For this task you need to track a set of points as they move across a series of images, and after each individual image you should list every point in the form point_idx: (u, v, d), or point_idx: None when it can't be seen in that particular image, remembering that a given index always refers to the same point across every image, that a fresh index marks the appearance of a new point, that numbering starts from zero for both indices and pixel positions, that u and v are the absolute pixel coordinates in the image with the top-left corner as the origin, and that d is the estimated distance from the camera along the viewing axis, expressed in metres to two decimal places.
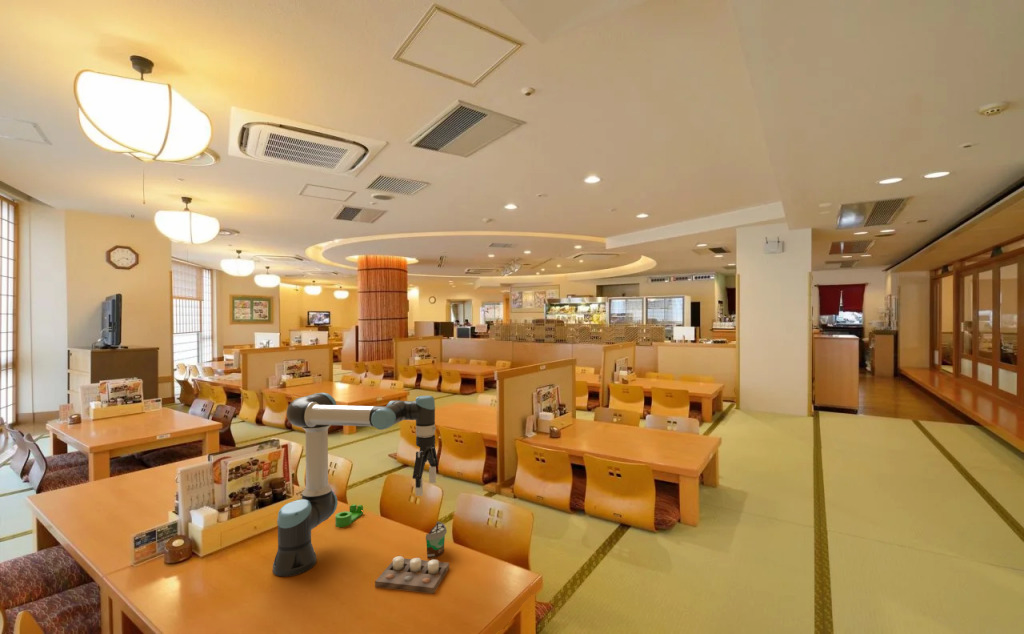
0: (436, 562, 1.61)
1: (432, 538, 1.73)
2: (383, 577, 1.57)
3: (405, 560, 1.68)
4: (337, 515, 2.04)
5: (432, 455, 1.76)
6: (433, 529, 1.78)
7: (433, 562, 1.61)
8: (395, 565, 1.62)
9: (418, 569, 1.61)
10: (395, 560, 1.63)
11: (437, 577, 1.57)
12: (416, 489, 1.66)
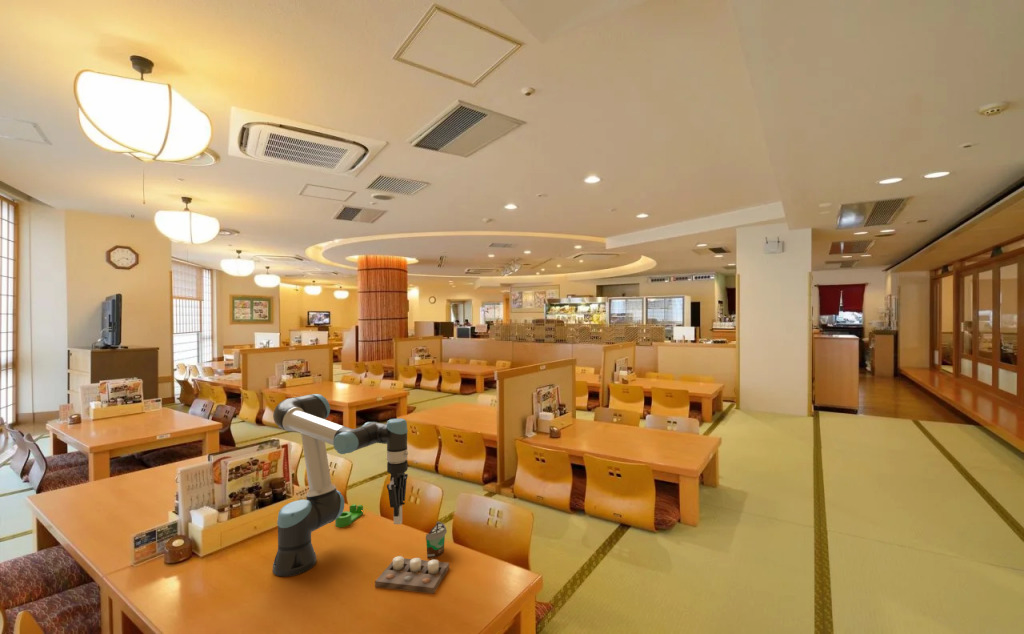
0: (436, 562, 1.61)
1: (432, 538, 1.73)
2: (383, 577, 1.57)
3: (405, 560, 1.68)
4: None
5: (402, 484, 1.65)
6: (433, 529, 1.78)
7: (433, 562, 1.61)
8: (395, 565, 1.62)
9: (418, 569, 1.61)
10: (395, 560, 1.63)
11: (437, 577, 1.57)
12: (394, 518, 1.64)
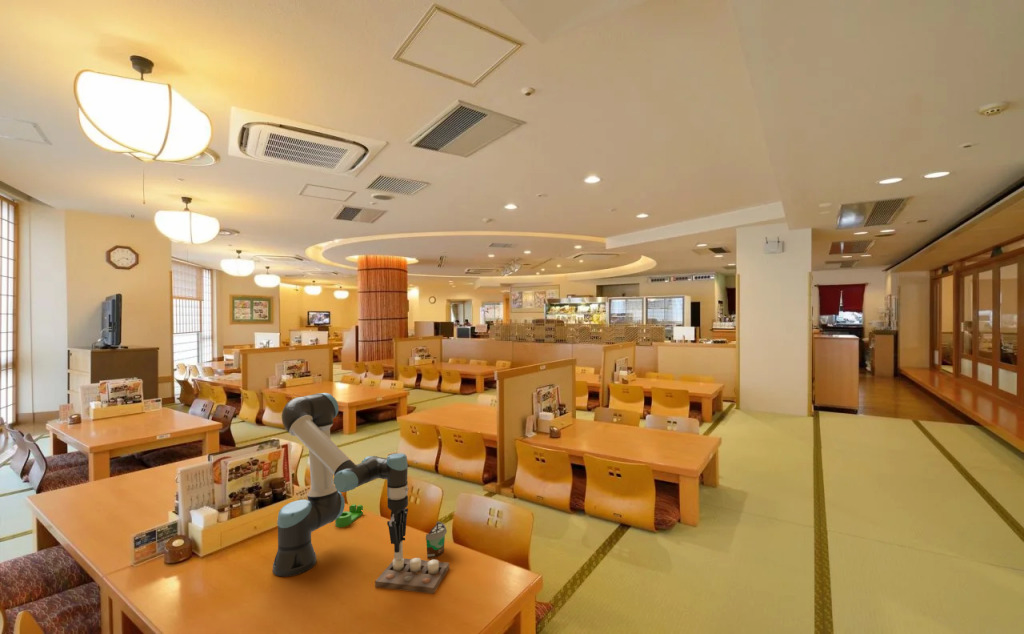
0: (436, 562, 1.61)
1: (432, 538, 1.73)
2: (383, 577, 1.57)
3: (405, 560, 1.68)
4: None
5: (403, 520, 1.65)
6: (433, 529, 1.78)
7: (433, 562, 1.61)
8: (395, 566, 1.62)
9: (418, 569, 1.61)
10: (395, 561, 1.63)
11: (437, 577, 1.57)
12: (395, 553, 1.63)
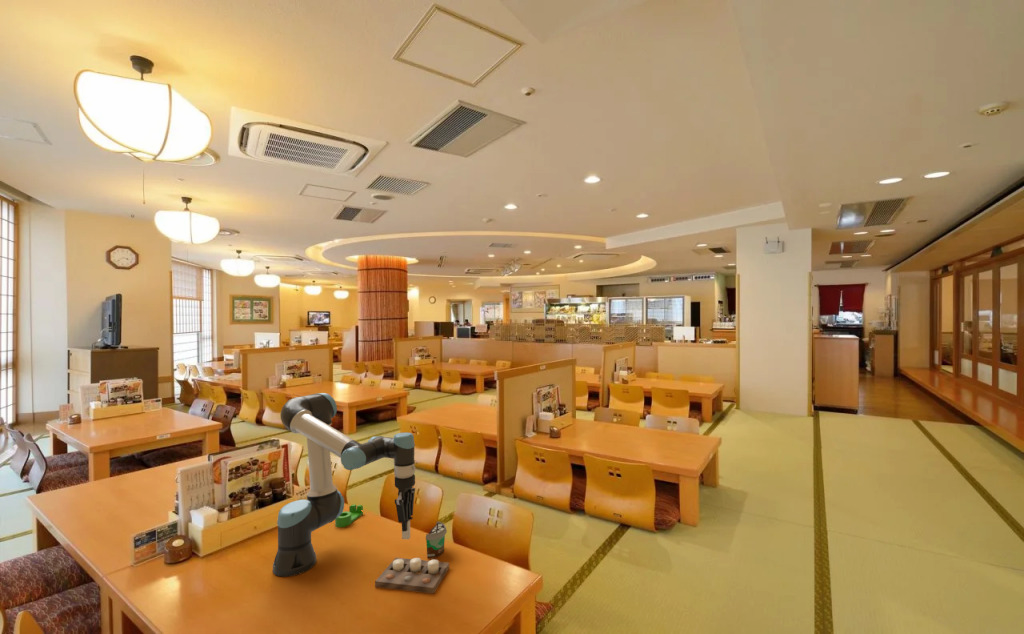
0: (436, 562, 1.61)
1: (432, 538, 1.73)
2: (383, 577, 1.57)
3: (405, 560, 1.68)
4: None
5: (410, 499, 1.64)
6: (433, 529, 1.78)
7: (433, 562, 1.61)
8: (395, 568, 1.62)
9: (418, 569, 1.61)
10: (395, 563, 1.63)
11: (437, 577, 1.57)
12: (402, 532, 1.63)
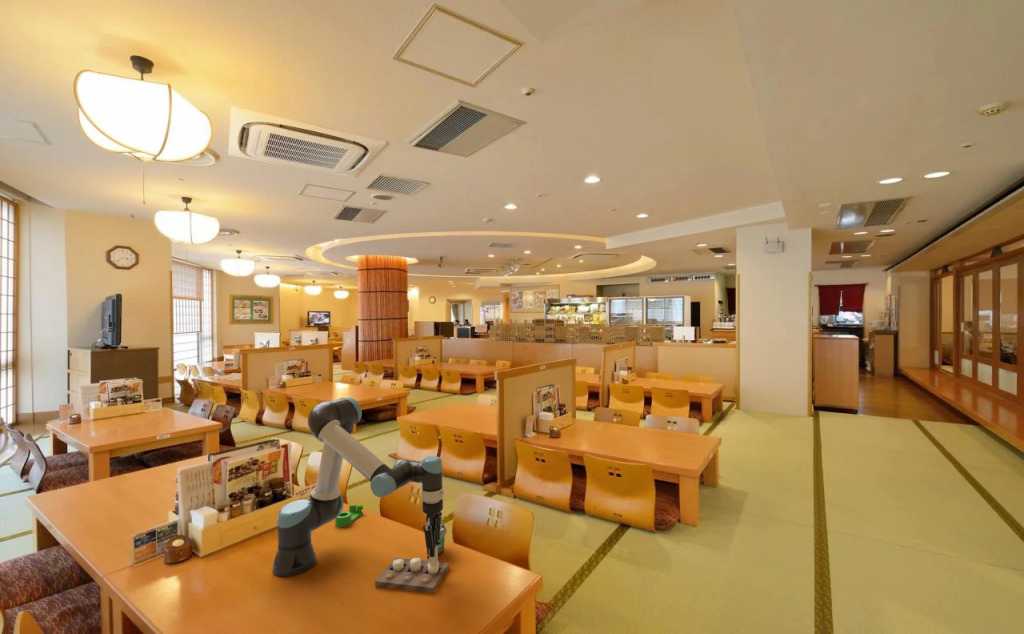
0: None
1: None
2: (383, 577, 1.57)
3: (405, 560, 1.68)
4: None
5: (438, 524, 1.62)
6: None
7: None
8: (395, 568, 1.62)
9: (418, 569, 1.61)
10: (395, 563, 1.63)
11: (437, 577, 1.57)
12: (430, 558, 1.61)
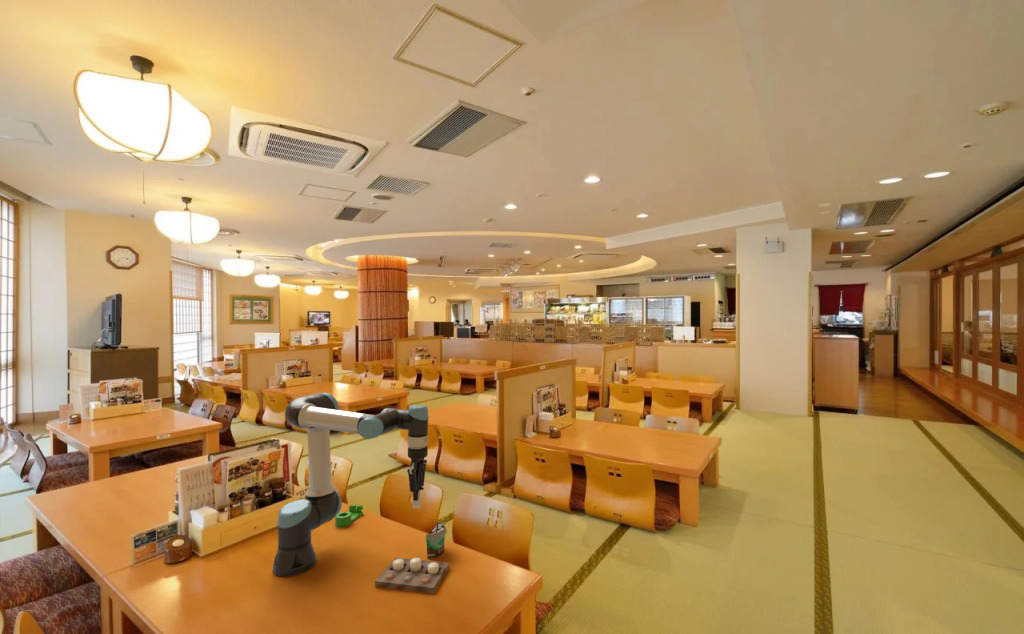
0: (436, 565, 1.61)
1: (432, 538, 1.73)
2: (383, 577, 1.57)
3: (405, 560, 1.68)
4: (337, 515, 2.04)
5: (422, 469, 1.67)
6: (433, 529, 1.78)
7: (433, 565, 1.61)
8: (395, 568, 1.62)
9: (418, 569, 1.61)
10: (395, 563, 1.63)
11: (437, 577, 1.57)
12: (413, 502, 1.66)
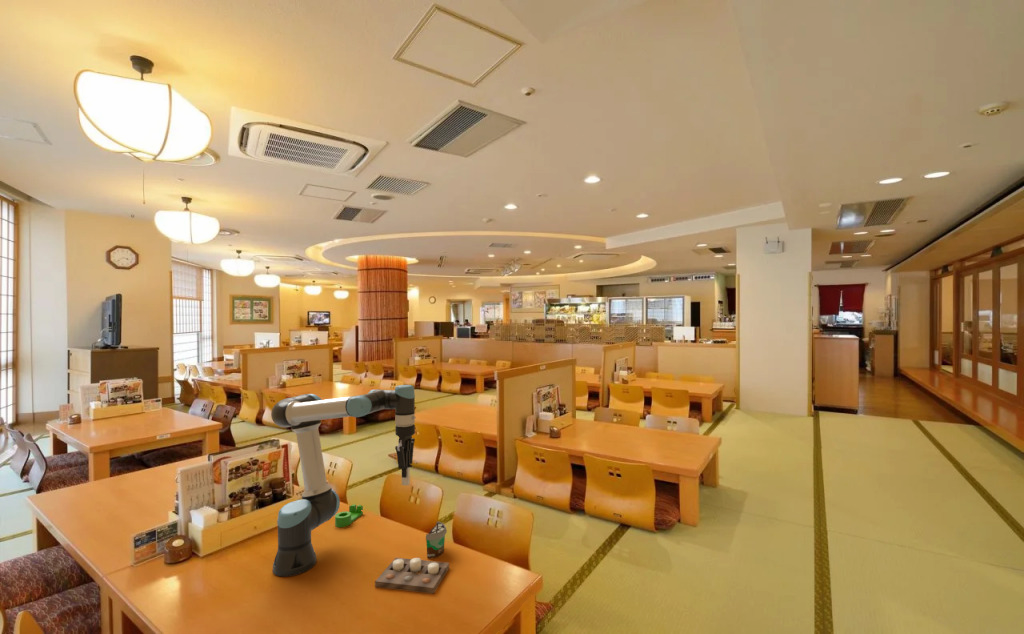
0: (436, 565, 1.61)
1: (432, 538, 1.73)
2: (383, 577, 1.57)
3: (405, 560, 1.68)
4: (337, 515, 2.04)
5: (410, 447, 1.72)
6: (433, 529, 1.78)
7: (433, 565, 1.61)
8: (395, 568, 1.62)
9: (418, 569, 1.61)
10: (395, 563, 1.63)
11: (437, 577, 1.57)
12: (402, 479, 1.71)
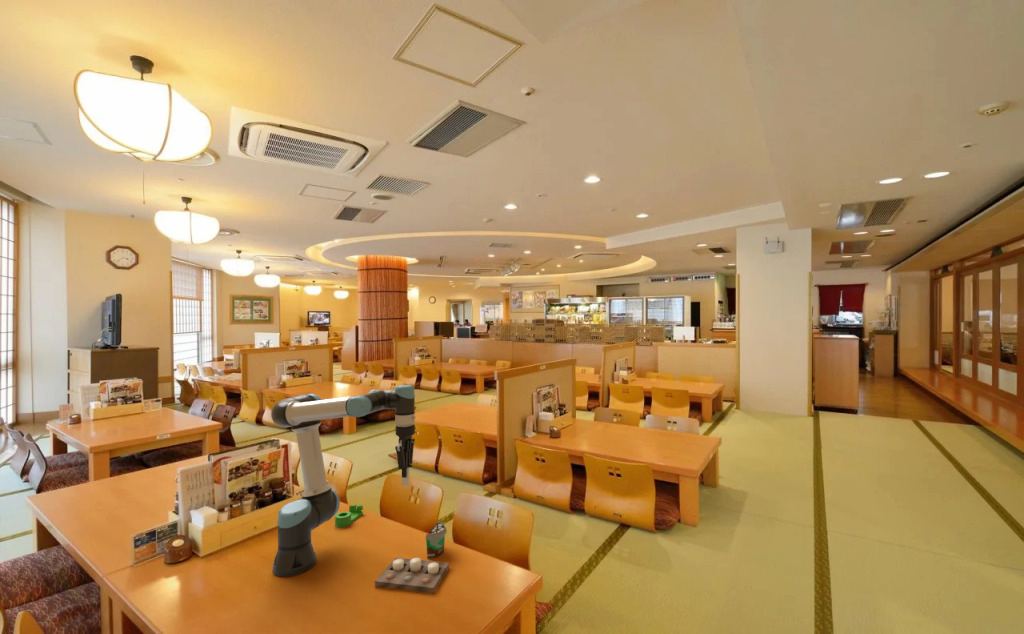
0: (436, 565, 1.61)
1: (432, 538, 1.73)
2: (383, 577, 1.57)
3: (405, 560, 1.68)
4: (337, 515, 2.04)
5: (410, 447, 1.72)
6: (433, 529, 1.78)
7: (433, 565, 1.61)
8: (395, 568, 1.62)
9: (418, 569, 1.61)
10: (395, 563, 1.63)
11: (437, 577, 1.57)
12: (402, 479, 1.71)
